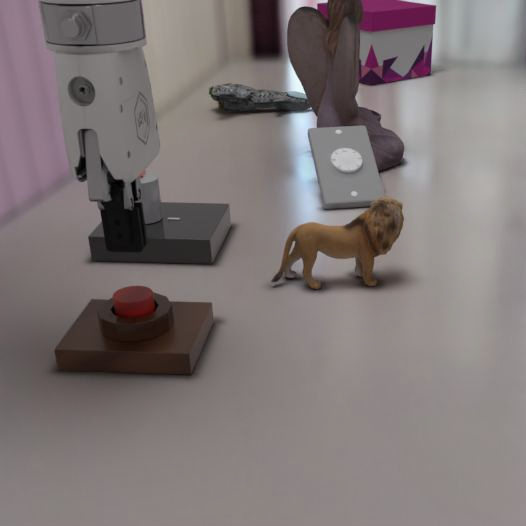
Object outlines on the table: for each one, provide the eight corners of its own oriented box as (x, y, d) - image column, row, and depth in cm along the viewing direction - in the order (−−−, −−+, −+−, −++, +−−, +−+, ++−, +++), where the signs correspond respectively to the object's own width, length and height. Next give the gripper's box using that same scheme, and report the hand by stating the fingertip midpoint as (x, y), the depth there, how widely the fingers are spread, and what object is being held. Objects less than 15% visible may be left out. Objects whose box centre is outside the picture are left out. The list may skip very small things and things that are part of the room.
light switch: (325, 199, 106) (308, 122, 113) (322, 228, 111) (305, 153, 118) (387, 195, 107) (366, 119, 115) (381, 224, 112) (361, 150, 120)
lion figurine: (394, 264, 92) (396, 188, 87) (408, 283, 87) (412, 204, 83) (267, 277, 88) (263, 199, 84) (275, 297, 84) (272, 216, 80)
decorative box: (378, 63, 198) (380, -3, 191) (432, 75, 186) (436, 5, 178) (318, 72, 188) (317, 3, 180) (370, 85, 175) (372, 12, 168)
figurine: (419, 169, 123) (428, -8, 110) (331, 181, 118) (329, -3, 105) (369, 140, 137) (372, -20, 124) (288, 150, 132) (283, -16, 119)
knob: (160, 224, 94) (154, 180, 91) (125, 224, 94) (119, 180, 91) (164, 212, 97) (159, 169, 95) (131, 212, 97) (125, 170, 94)
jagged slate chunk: (314, 115, 147) (315, 84, 146) (205, 108, 145) (205, 77, 144) (311, 118, 163) (312, 91, 162) (212, 113, 161) (212, 85, 160)
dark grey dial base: (91, 261, 92) (87, 235, 90) (122, 223, 102) (119, 199, 101) (212, 264, 91) (209, 238, 90) (231, 226, 102) (229, 202, 100)
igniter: (58, 370, 71) (49, 331, 69) (94, 318, 80) (88, 282, 78) (191, 374, 71) (187, 335, 69) (213, 322, 79) (210, 285, 77)
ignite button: (109, 319, 72) (107, 302, 71) (121, 301, 75) (119, 284, 74) (149, 320, 72) (146, 303, 71) (159, 302, 75) (157, 285, 74)
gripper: (112, 41, 54) (146, 285, 64) (167, 13, 67) (188, 219, 77) (4, 40, 55) (54, 283, 64) (79, 12, 68) (111, 218, 77)
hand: (127, 248), depth 70 cm, fingers closed
